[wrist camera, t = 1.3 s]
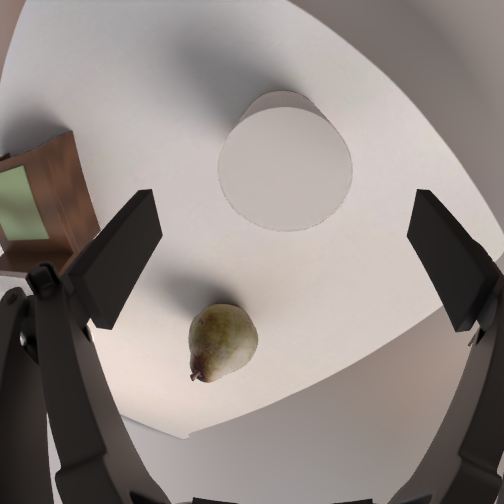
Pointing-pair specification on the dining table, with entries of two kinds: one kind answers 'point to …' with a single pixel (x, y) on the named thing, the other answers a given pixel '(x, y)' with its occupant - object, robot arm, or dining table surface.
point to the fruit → (220, 342)
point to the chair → (44, 208)
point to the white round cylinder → (284, 164)
